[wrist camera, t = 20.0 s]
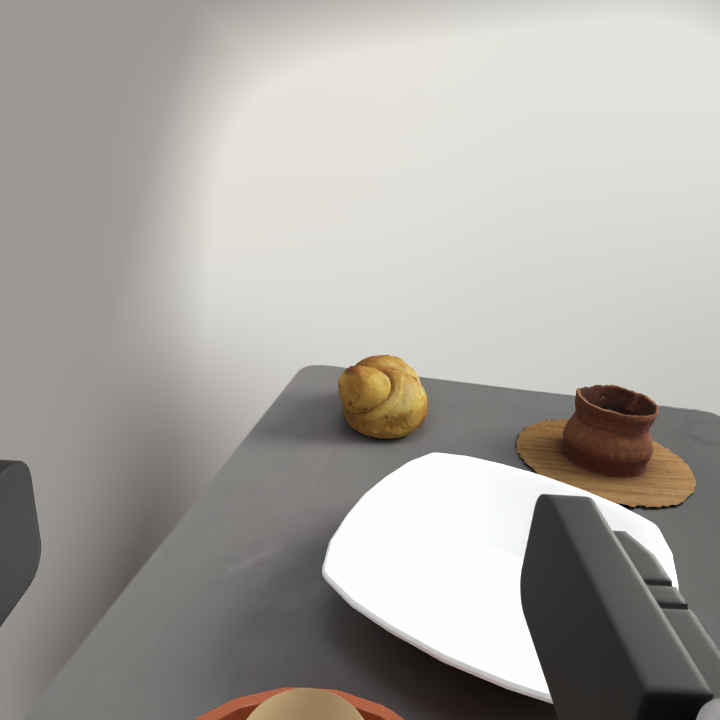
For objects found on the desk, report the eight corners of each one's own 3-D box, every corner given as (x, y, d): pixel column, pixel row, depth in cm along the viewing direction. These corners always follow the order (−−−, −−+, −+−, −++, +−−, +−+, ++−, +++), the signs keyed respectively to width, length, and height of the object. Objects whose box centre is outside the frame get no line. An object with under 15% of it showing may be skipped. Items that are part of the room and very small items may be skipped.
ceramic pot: (543, 406, 75) (554, 353, 72) (702, 452, 66) (721, 394, 64) (491, 466, 60) (502, 403, 58) (686, 535, 52) (709, 464, 50)
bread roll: (347, 391, 75) (351, 330, 72) (425, 399, 74) (432, 338, 71) (331, 441, 63) (335, 370, 60) (424, 452, 62) (433, 381, 59)
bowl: (669, 576, 47) (687, 520, 45) (639, 838, 29) (667, 764, 27) (416, 485, 56) (422, 436, 54) (276, 642, 39) (277, 576, 37)
